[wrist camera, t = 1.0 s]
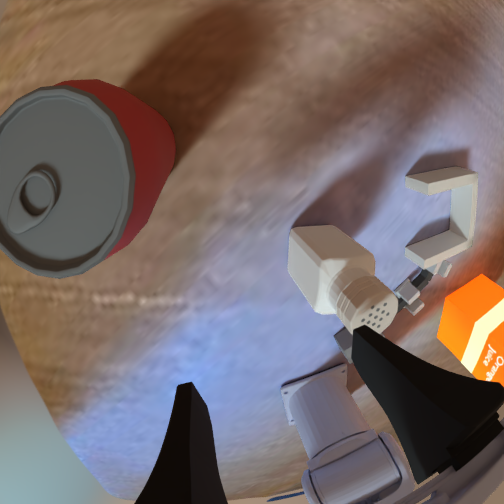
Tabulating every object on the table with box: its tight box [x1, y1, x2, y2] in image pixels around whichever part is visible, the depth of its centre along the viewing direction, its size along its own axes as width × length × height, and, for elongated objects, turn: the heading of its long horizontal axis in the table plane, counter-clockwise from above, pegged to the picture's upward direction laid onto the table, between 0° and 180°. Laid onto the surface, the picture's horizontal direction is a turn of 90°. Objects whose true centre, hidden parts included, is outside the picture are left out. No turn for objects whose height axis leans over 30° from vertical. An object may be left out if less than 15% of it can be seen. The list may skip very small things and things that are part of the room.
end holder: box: [405, 166, 478, 270], centre depth 22 cm, size 8×8×3 cm
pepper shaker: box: [287, 225, 398, 335], centre depth 18 cm, size 4×4×10 cm
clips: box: [380, 260, 452, 337], centre depth 26 cm, size 4×13×2 cm, turn 133°
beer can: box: [0, 79, 176, 279], centre depth 11 cm, size 7×7×12 cm
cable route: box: [334, 269, 433, 364], centre depth 26 cm, size 3×16×2 cm, turn 130°
